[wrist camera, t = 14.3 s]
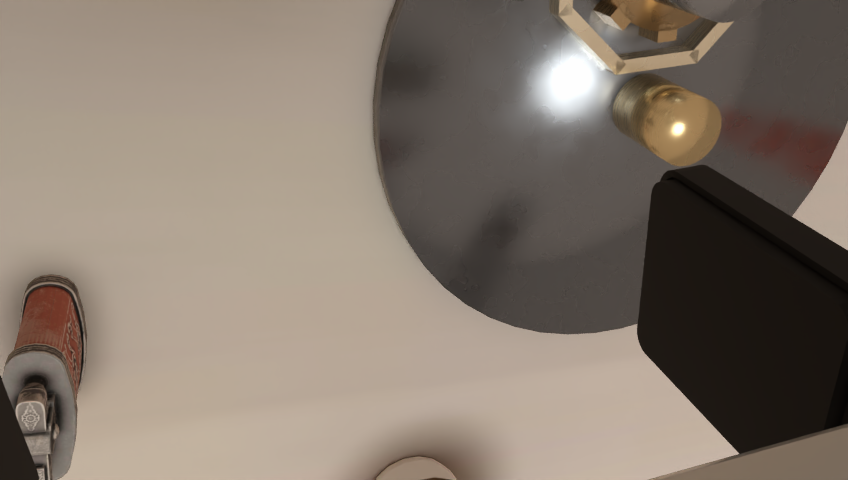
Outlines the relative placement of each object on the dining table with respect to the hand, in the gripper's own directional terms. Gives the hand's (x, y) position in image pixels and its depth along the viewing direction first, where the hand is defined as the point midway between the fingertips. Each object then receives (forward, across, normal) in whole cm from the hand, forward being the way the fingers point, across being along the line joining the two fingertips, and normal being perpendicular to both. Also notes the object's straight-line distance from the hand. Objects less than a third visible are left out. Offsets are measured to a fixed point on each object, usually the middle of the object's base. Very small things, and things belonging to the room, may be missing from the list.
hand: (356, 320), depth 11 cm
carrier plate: (+32, -24, +10) cm, 41 cm away
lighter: (+32, +12, +19) cm, 40 cm away
